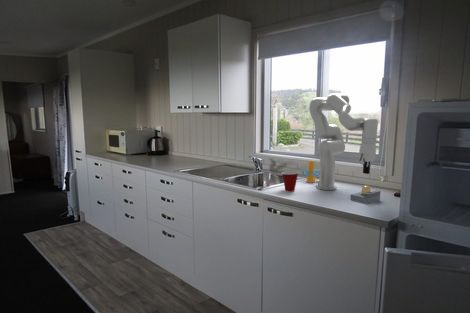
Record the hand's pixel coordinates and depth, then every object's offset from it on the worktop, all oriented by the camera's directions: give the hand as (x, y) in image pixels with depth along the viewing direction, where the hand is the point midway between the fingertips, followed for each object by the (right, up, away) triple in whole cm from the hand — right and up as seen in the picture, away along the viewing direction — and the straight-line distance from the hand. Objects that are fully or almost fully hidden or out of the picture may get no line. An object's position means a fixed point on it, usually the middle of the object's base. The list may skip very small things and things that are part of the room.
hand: (366, 173), depth 183 cm
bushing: (0, -15, +1) cm, 15 cm away
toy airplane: (-19, -9, +51) cm, 55 cm away
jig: (0, -15, +2) cm, 15 cm away
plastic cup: (-39, -12, +24) cm, 48 cm away
